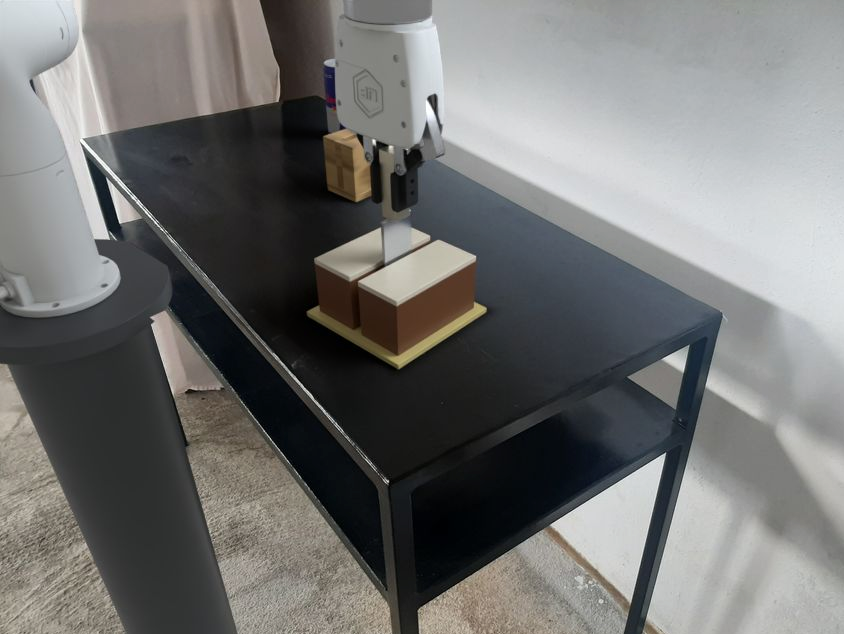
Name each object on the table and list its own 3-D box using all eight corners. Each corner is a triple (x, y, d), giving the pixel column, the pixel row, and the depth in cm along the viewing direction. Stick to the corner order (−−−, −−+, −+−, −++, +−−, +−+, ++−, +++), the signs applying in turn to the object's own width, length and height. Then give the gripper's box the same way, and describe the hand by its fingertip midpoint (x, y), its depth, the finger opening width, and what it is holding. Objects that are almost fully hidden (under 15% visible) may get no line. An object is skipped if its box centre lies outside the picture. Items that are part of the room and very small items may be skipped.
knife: (392, 302, 77) (385, 157, 67) (379, 295, 78) (370, 152, 68) (418, 287, 79) (415, 145, 70) (405, 280, 80) (400, 140, 71)
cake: (398, 369, 73) (396, 309, 68) (307, 316, 80) (300, 258, 75) (486, 312, 81) (489, 255, 77) (397, 268, 88) (395, 214, 84)
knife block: (356, 202, 103) (352, 147, 98) (327, 190, 106) (322, 136, 101) (396, 185, 107) (394, 132, 103) (367, 174, 111) (365, 122, 106)
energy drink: (329, 143, 120) (323, 68, 113) (327, 131, 124) (321, 58, 117) (362, 141, 121) (358, 67, 114) (359, 130, 125) (355, 57, 118)
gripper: (292, -6, 63) (313, 191, 74) (426, 27, 55) (428, 242, 66) (356, -17, 68) (367, 170, 79) (488, 11, 60) (480, 215, 71)
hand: (395, 201), depth 72 cm, fingers closed on knife, 2 cm apart
